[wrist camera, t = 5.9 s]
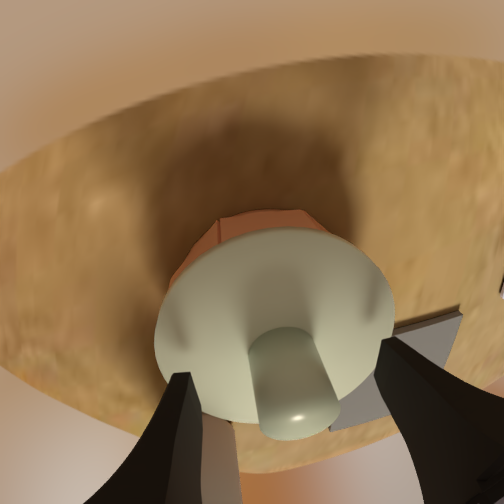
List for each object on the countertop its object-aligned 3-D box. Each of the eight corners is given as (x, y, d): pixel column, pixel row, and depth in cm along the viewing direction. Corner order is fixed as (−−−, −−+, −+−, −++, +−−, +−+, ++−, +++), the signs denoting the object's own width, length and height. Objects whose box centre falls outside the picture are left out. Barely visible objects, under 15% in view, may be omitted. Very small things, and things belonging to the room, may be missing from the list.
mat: (458, 310, 19) (463, 314, 19) (426, 395, 23) (429, 400, 23) (340, 341, 18) (343, 348, 18) (328, 426, 23) (329, 432, 22)
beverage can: (163, 409, 19) (156, 565, 9) (230, 406, 20) (249, 566, 9) (178, 442, 21) (178, 573, 11) (236, 439, 22) (253, 572, 11)
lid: (396, 210, 11) (467, 255, 7) (372, 388, 16) (401, 445, 12) (125, 250, 11) (86, 319, 7) (189, 422, 15) (189, 488, 11)
